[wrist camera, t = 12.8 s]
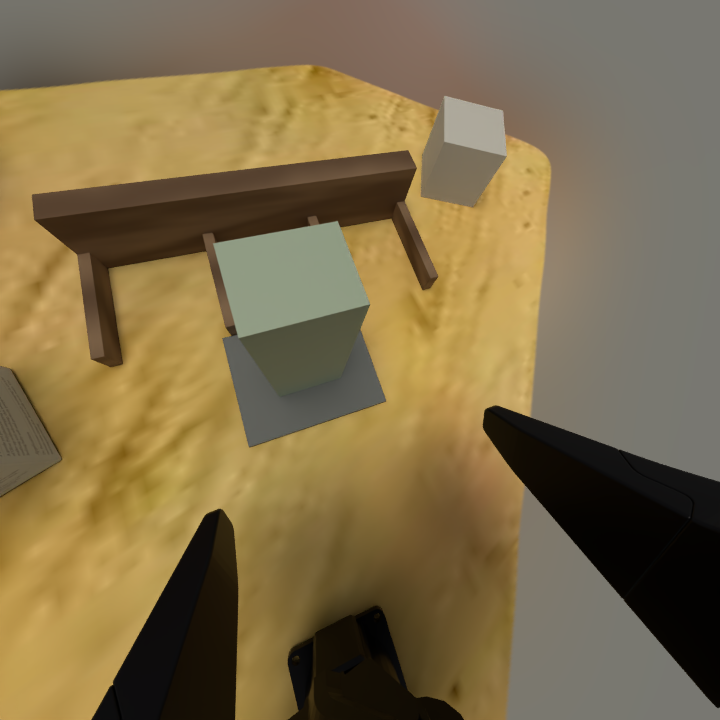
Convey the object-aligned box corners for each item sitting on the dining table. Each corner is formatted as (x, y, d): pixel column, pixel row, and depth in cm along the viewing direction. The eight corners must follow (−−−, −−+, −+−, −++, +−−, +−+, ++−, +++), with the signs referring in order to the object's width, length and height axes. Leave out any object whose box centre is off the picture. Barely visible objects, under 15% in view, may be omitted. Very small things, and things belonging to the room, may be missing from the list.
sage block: (340, 378, 24) (369, 304, 11) (279, 397, 22) (238, 338, 10) (325, 334, 24) (337, 220, 12) (265, 350, 23) (213, 243, 11)
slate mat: (385, 401, 24) (386, 400, 24) (250, 447, 21) (249, 447, 21) (351, 308, 26) (351, 306, 26) (223, 340, 23) (222, 338, 23)
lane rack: (429, 288, 28) (456, 251, 23) (110, 366, 22) (45, 341, 16) (391, 201, 30) (408, 150, 25) (93, 249, 24) (31, 194, 19)
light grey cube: (420, 197, 31) (443, 141, 25) (421, 156, 33) (444, 95, 27) (472, 207, 32) (507, 156, 26) (471, 167, 34) (503, 110, 28)
